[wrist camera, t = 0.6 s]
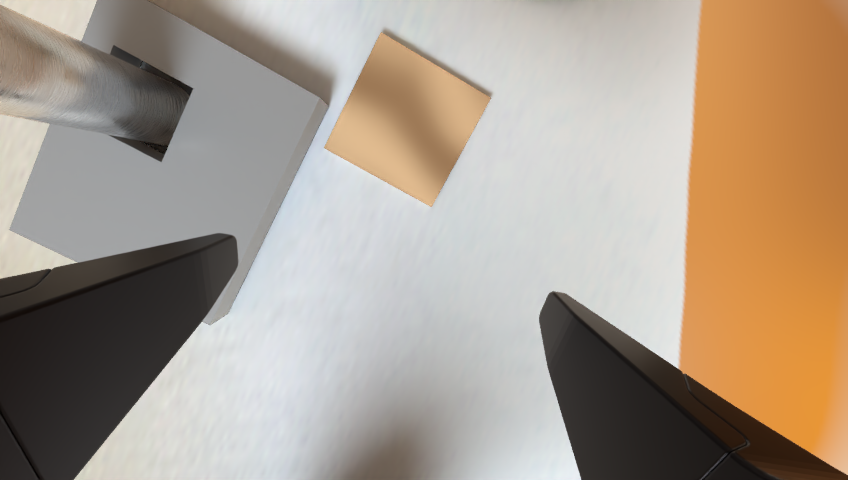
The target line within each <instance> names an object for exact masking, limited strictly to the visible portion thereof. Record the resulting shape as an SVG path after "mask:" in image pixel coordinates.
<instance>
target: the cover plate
mask: <svg viewBox="0 0 848 480" xmlns="http://www.w3.org/2000/svg"><path fill="white" fill-rule="evenodd" d="M81 42H83V43H86V44H88V45H90V46H92V47H94V48H97V49H99V50H101V51H103V52H105V53H108V54H110V55H112V56H114V57H117V58H119V59H121V60H123V61H125V62H128V63H130V64H132V65H134V66H136V67H140V65H141V62H142V61H144V62H146V63H148V64H150V65H151V66H153V67H155V68H157V69H159V70H161V71H162V72H164V73H166V74H168V75H170V76H172V77H173V78H175V79H177V80H179V81H181V82H183V83H184V84H186V85H188V86H190V87H192V88H193V90H192V93H191V95H190V97H189V100H188V102H187V104H186V107H185V109H184V111H183V114H182V116H181V118H180V120H179V123H178V125H177V127H176V130H175V132H174V134H173V137H172V139H171V141H170V144H169V146H168V148H167V151H166V153H165V155H164V154H162V153H160V152H158V151H157V150H155V149H153V148H151V147H149V146H147V145H145V144H143V143H141V142H139V141H137V140H134V139H128V138H123V137H118V136H112V135H107V134H102V133H97V132H91V131H86V130H81V129H76V128H70V127H65V126H60V125H54V124H50V125H49V127H48V130H47V133H46V135H45V138H44V141H43V143H42V146H41V148H40V151H39V154H38V156H37V159H36V161H35V164H34V167H33V169H32V172H31V174H30V177H29V180H28V182H27V185H26V187H25V190H24V193H23V195H22V198H21V200H20V203H19V206H18V208H17V211H16V214H15V216H14V219H13V221H12V224H11V227H10V229H9V230H10V231H12V232H15V233H17V234H19V235H21V236H23V237H25V238H27V239H29V240H31V241H34V242H36V243H38V244H40V245H42V246H44V247H46V248H48V249H50V250H53V251H55V252H57V253H59V254H61V255H63V256H65V257H67V258H69V259H72V260H74V261H76V262H78V263H79V262H83V261H88V260H93V259H98V258H102V257H107V256H112V255H116V254H121V253H126V252H131V251H135V250H140V249H145V248H149V247H154V246H159V245H163V244H168V243H173V242H178V241H182V240H187V239H192V238H196V237H201V236H206V235H211V234H215V233H224V234H230V235H233V236H235V237H236V239H237V247H238V267H237V270H236V271H235V273H234V274H233V276H232V278H231V279H230V281H229V282H228V284H227V285H226V287H225V289H224V290H223V292H222V293H221V295H220V296H219V298H218V299H217V301H216V303H215V304H214V306H213V307H212V309H211V310H210V312H209V313H208V314H207V316H206V317H205V318H204V319H203V321H202V322H204V323H206V324H208V325H211V324H213V323H214V322H216V321H218V320H219V319H221V318H222V317H224V316H225V315H227V314H228V312H229V310H230V308H231V306H232V304H233V302H234V300H235V298H236V296H237V294H238V292H239V290H240V288H241V286H242V284H243V282H244V280H245V278H246V275H247V273H248V271H249V269H250V267H251V265H252V263H253V261H254V259H255V257H256V255H257V253H258V251H259V249H260V247H261V245H262V243H263V241H264V239H265V236H266V234H267V232H268V230H269V228H270V226H271V224H272V222H273V220H274V218H275V216H276V214H277V212H278V210H279V208H280V206H281V204H282V202H283V200H284V197H285V195H286V193H287V191H288V189H289V187H290V185H291V183H292V181H293V179H294V177H295V175H296V173H297V171H298V169H299V167H300V165H301V163H302V161H303V158H304V156H305V154H306V152H307V150H308V148H309V146H310V144H311V142H312V140H313V138H314V136H315V134H316V132H317V130H318V128H319V126H320V124H321V122H322V119H323V117H324V115H325V113H326V111H327V109H328V107H329V106H328V105H327V104H326V103H325V102H324V101H323V100H322V99H321V98H320V97H318V96H316V95H314V94H313V93H311V92H309V91H307V90H306V89H304V88H302V87H300V86H299V85H297V84H295V83H293V82H291V81H290V80H288V79H286V78H284V77H283V76H281V75H279V74H277V73H276V72H274V71H272V70H270V69H268V68H267V67H265V66H263V65H261V64H260V63H258V62H256V61H254V60H253V59H251V58H249V57H247V56H245V55H244V54H242V53H240V52H238V51H237V50H235V49H233V48H231V47H230V46H228V45H226V44H224V43H222V42H221V41H219V40H217V39H215V38H214V37H212V36H210V35H208V34H207V33H205V32H203V31H201V30H199V29H198V28H196V27H194V26H192V25H191V24H189V23H187V22H185V21H184V20H182V19H180V18H178V17H176V16H175V15H173V14H171V13H169V12H168V11H166V10H164V9H162V8H161V7H159V6H157V5H155V4H154V3H152V2H150V1H148V0H97V2H96V5H95V8H94V10H93V13H92V15H91V18H90V21H89V23H88V26H87V28H86V31H85V34H84V36H83V39H82V41H81Z"/></svg>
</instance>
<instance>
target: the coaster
mask: <svg viewBox="0 0 848 480" xmlns="http://www.w3.org/2000/svg"><path fill="white" fill-rule="evenodd" d="M490 99H491V98H490V97H489V96H487V95H485V94H484V93H482V92H480V91H479V90H477V89H475V88H474V87H472V86H470V85H469V84H467V83H465V82H464V81H462V80H460V79H459V78H457V77H455V76H453V75H452V74H450V73H448V72H447V71H445V70H443V69H442V68H440V67H438V66H437V65H435V64H433V63H432V62H430V61H428V60H427V59H425V58H423V57H422V56H420V55H418V54H417V53H415V52H413V51H412V50H410V49H408V48H407V47H405V46H403V45H402V44H400V43H398V42H397V41H395V40H393V39H392V38H390V37H388V36H387V35H385V34H383V33H382V32H381V33H380V35H379V37H378V39H377V41H376V43H375V45H374V47H373V49H372V51H371V54H370V56H369V58H368V60H367V62H366V64H365V66H364V68H363V70H362V72H361V74H360V76H359V78H358V80H357V82H356V84H355V86H354V88H353V90H352V92H351V94H350V96H349V98H348V100H347V102H346V104H345V106H344V108H343V110H342V112H341V114H340V116H339V118H338V120H337V122H336V125H335V127H334V129H333V131H332V133H331V135H330V137H329V139H328V141H327V143H326V145H325V147H324V148H325V149H327V150H329V151H330V152H332V153H334V154H336V155H338V156H340V157H341V158H343V159H345V160H347V161H349V162H350V163H352V164H354V165H356V166H358V167H360V168H361V169H363V170H365V171H367V172H369V173H370V174H372V175H374V176H376V177H378V178H380V179H381V180H383V181H385V182H387V183H389V184H390V185H392V186H394V187H396V188H398V189H400V190H401V191H403V192H405V193H407V194H409V195H410V196H412V197H414V198H416V199H418V200H420V201H421V202H423V203H425V204H427V205H429V206H430V207H432V205H433V203H434V201H435V200H436V198H437V196H438V194H439V192H440V190H441V189H442V187H443V185H444V183H445V181H446V179H447V178H448V176H449V174H450V172H451V170H452V168H453V167H454V165H455V163H456V161H457V159H458V157H459V156H460V154H461V152H462V150H463V148H464V147H465V145H466V143H467V141H468V139H469V137H470V136H471V134H472V132H473V130H474V128H475V126H476V125H477V123H478V121H479V119H480V117H481V115H482V114H483V112H484V110H485V108H486V106H487V104H488V103H489V101H490Z"/></svg>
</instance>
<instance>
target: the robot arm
mask: <svg viewBox="0 0 848 480" xmlns="http://www.w3.org/2000/svg"><path fill="white" fill-rule="evenodd" d="M237 267H238V247H237V239H236V237H235V236H233V235H230V234H224V233H215V234H211V235H206V236H201V237H196V238H192V239H187V240H182V241H178V242H173V243H168V244H163V245H159V246H154V247H149V248H145V249H140V250H135V251H131V252H126V253H121V254H116V255H112V256H107V257H102V258H98V259H93V260H88V261H83V262H79V263H74V264H69V265H65V266H60V267H55V268H53V269H52V270H51V269H45V270H41V271H36V272H31V273H27V274H22V275H17V276H12V277H7V278H2V279H0V480H74V479H75V477H76V476H77V475H78V474H79V472H80V471H81V470H82V469H83V468H84V466H85V465H86V464H87V463H88V461H89V460H90V459H91V458H92V456H93V455H94V454H95V453H96V452H97V450H98V449H99V448H100V447H101V445H102V444H103V443H104V442H105V440H106V439H107V438H108V437H109V435H110V434H111V433H112V432H113V431H114V429H115V428H116V427H117V426H118V424H119V423H120V422H121V421H122V419H123V418H124V417H125V416H126V415H127V413H128V412H129V411H130V410H131V408H132V407H133V406H134V405H135V403H136V402H137V401H138V400H139V398H140V397H141V396H142V395H143V394H144V392H145V391H146V390H147V389H148V387H149V386H150V385H151V384H152V382H153V381H154V380H155V379H156V378H157V376H158V375H159V374H160V373H161V371H162V370H163V369H164V368H165V366H166V365H167V364H168V363H169V361H170V360H171V359H172V358H173V357H174V355H175V354H176V353H177V352H178V350H179V349H180V348H181V347H182V345H183V344H184V343H185V342H186V341H187V339H188V338H189V337H190V336H191V334H192V333H193V332H194V331H195V329H196V328H197V327H198V326H199V324H200V323H201V322H202V321H203V319H204V318H205V317H206V316H207V314H208V313H209V312H210V310H211V309H212V307H213V306H214V304H215V303H216V301H217V299H218V298H219V296H220V295H221V293H222V292H223V290H224V289H225V287H226V285H227V284H228V282H229V281H230V279H231V278H232V276H233V274H234V273H235V271H236V270H237ZM539 323H540V328H541V334H542V339H543V345H544V350H545V356H546V361H547V366H548V370H549V373H550V377H551V380H552V383H553V387H554V390H555V393H556V397H557V400H558V403H559V407H560V410H561V413H562V417H563V420H564V423H565V427H566V430H567V433H568V437H569V440H570V443H571V447H572V450H573V453H574V456H575V460H576V463H577V466H578V470H579V473H580V476H581V480H848V475H846V474H844V473H843V472H841V471H839V470H838V469H835V468H834V467H832V466H830V465H829V464H827V463H826V462H824V461H822V460H821V459H819V458H818V457H816V456H815V455H813V454H811V453H810V452H808V451H806V450H805V449H803V448H801V447H800V446H798V445H797V444H795V443H793V442H792V441H790V440H789V439H787V438H785V437H783V436H782V435H780V434H779V433H777V432H776V431H774V430H772V429H770V428H769V427H767V426H766V425H764V424H762V423H761V422H759V421H758V420H756V419H755V418H753V417H751V416H750V415H748V414H747V413H745V412H743V411H742V410H740V409H738V408H737V407H735V406H734V405H732V404H731V403H729V402H728V401H726V400H724V399H723V398H721V397H720V396H718V395H717V394H715V393H714V392H712V391H710V390H709V389H708V388H706V387H704V386H703V385H701V384H700V383H698V382H697V381H695V380H694V379H693V378H691V377H689V376H688V375H687V374H683V373H682V371H680V370H679V369H677V368H676V367H674V366H673V365H671V364H670V363H669V362H667V361H666V360H664V359H663V358H661V357H660V356H658V355H657V354H655V353H654V352H652V351H651V350H649V349H648V348H646V347H645V346H643V345H642V344H640V343H639V342H637V341H636V340H634V339H633V338H631V337H630V336H628V335H627V334H625V333H624V332H622V331H621V330H619V329H618V328H616V327H615V326H613V325H612V324H610V323H609V322H607V321H606V320H604V319H603V318H601V317H600V316H598V315H597V314H595V313H594V312H592V311H591V310H589V309H588V308H586V307H585V306H583V305H582V304H580V303H579V302H577V301H576V300H574V299H573V298H571V297H570V296H568V295H567V294H565V293H560V292H555V291H552V292H550V293H549V294H548V296H547V298H546V301H545V303H544V305H543V308H542V310H541V312H540V316H539Z"/></svg>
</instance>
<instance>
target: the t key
mask: <svg viewBox="0 0 848 480" xmlns="http://www.w3.org/2000/svg"><path fill="white" fill-rule="evenodd" d="M189 97H190V96H189V95H188V94H187V93H186V92H185V91H184V90H183V89H182V88H181V87H179V86H178V85H176V84H174V83H172V82H169V81H167V80H165V79H163V78H161V77H158V76H156V75H154V74H152V73H150V72H147V71H145V70H143V69H141V68H139V67H136V66H134V65H132V64H130V63H128V62H125V61H123V60H121V59H119V58H117V57H114V56H112V55H110V54H108V53H105V52H103V51H101V50H99V49H97V48H94V47H92V46H90V45H88V44H86V43H83V42H81V41H79V40H77V39H75V38H72V37H70V36H68V35H66V34H64V33H61V32H59V31H57V30H55V29H53V28H50V27H48V26H46V25H44V24H42V23H39V22H37V21H35V20H33V19H31V18H28V17H26V16H24V15H22V14H20V13H17V12H15V11H13V10H11V9H9V8H6V7H4V6H2V5H0V114H2V115H7V116H12V117H18V118H23V119H28V120H33V121H39V122H44V123H49V124H54V125H60V126H65V127H70V128H76V129H81V130H86V131H91V132H97V133H102V134H107V135H112V136H118V137H123V138H128V139H134V140H139V141H144V142H149V143H155V144H160V145H168V146H169V144H170V141H171V139H172V137H173V134H174V132H175V130H176V127H177V125H178V123H179V120H180V118H181V116H182V114H183V111H184V109H185V107H186V104H187V102H188V100H189Z"/></svg>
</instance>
